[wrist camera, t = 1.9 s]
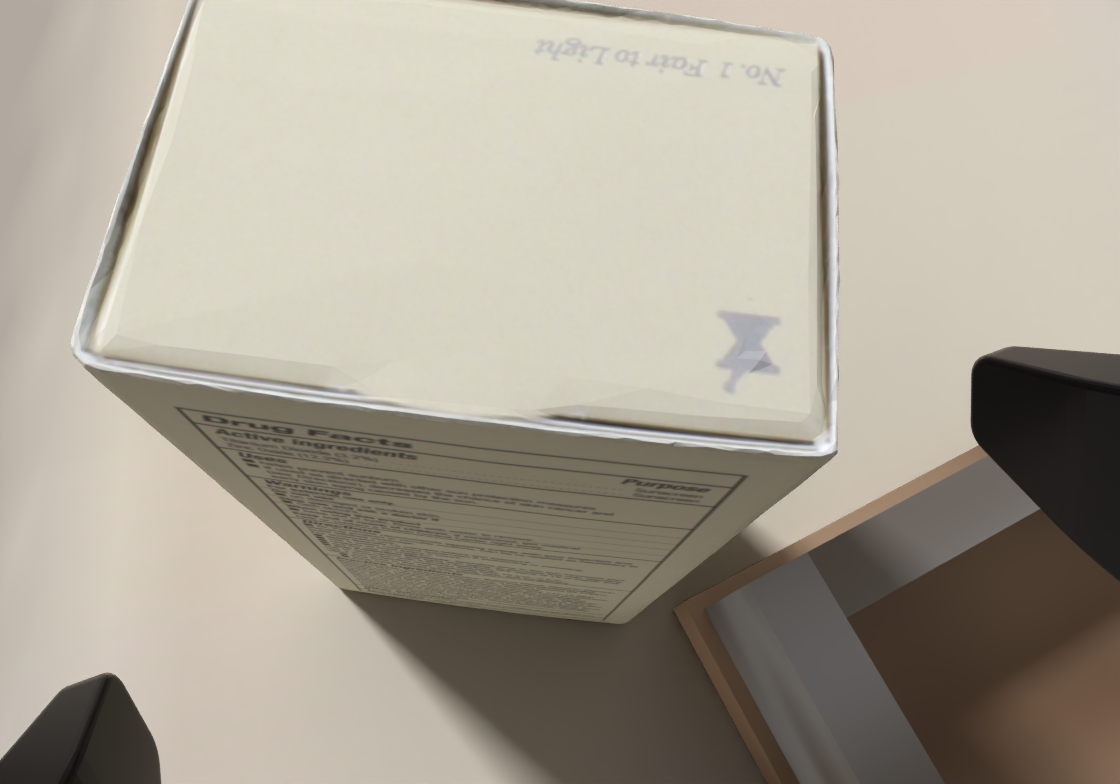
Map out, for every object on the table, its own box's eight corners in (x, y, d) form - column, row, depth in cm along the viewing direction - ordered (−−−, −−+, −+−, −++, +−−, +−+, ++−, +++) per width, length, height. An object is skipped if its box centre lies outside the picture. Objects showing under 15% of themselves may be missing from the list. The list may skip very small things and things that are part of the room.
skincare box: (644, 431, 20) (863, 25, 9) (627, 638, 18) (872, 471, 7) (359, 393, 20) (199, -78, 8) (316, 599, 18) (46, 361, 7)
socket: (1417, 861, 18) (1661, 893, 14) (989, 1197, 15) (1152, 1343, 12) (1076, 394, 21) (1204, 320, 17) (672, 609, 19) (722, 575, 15)
